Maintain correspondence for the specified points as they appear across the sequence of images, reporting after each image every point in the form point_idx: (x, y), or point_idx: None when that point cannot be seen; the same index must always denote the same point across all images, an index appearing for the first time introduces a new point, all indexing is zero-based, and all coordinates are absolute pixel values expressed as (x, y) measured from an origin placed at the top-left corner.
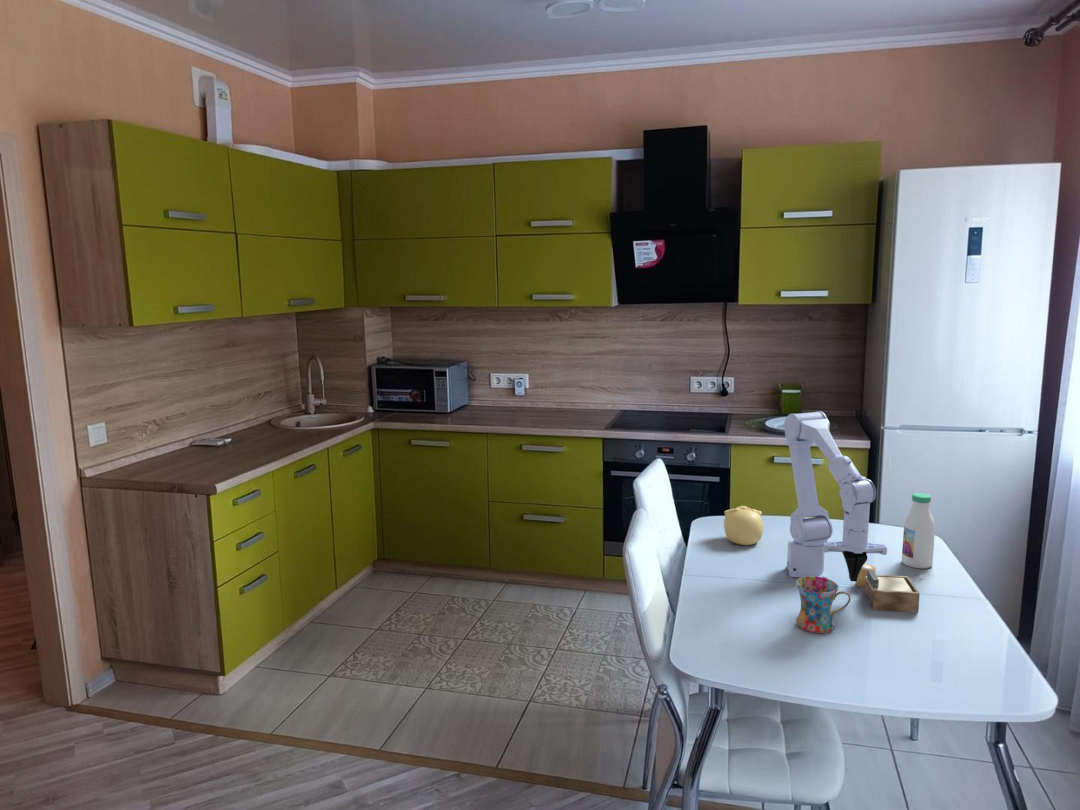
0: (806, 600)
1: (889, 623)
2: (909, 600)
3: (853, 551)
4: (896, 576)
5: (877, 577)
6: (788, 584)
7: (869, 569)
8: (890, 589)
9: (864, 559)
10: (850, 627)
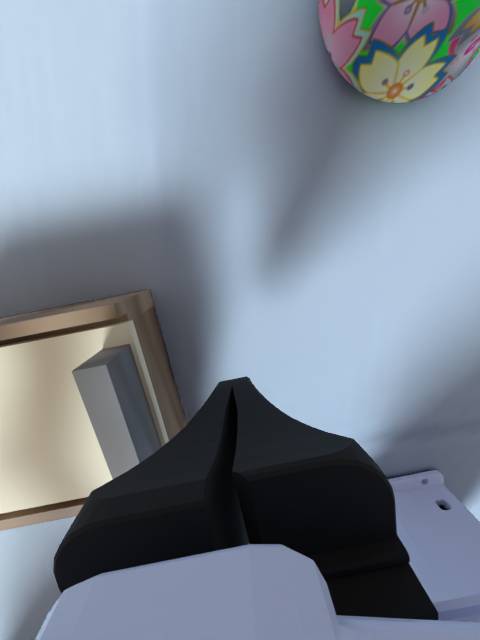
0: None
1: (80, 169)
2: None
3: (333, 622)
4: (30, 517)
5: None
6: (451, 413)
7: None
8: (37, 357)
9: (109, 493)
10: (240, 63)
